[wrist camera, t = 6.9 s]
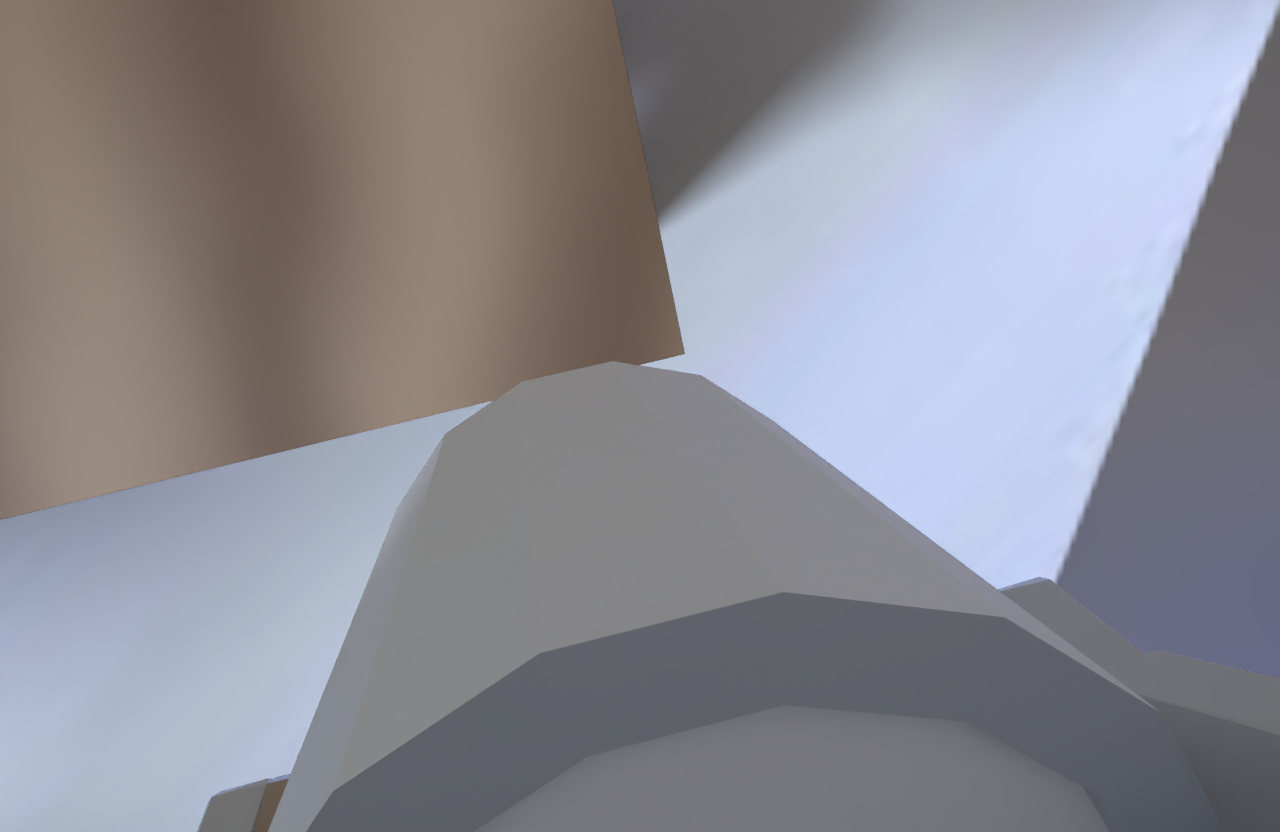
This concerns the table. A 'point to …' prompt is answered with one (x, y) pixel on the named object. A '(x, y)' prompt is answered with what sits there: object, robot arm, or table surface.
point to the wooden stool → (304, 225)
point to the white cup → (701, 648)
